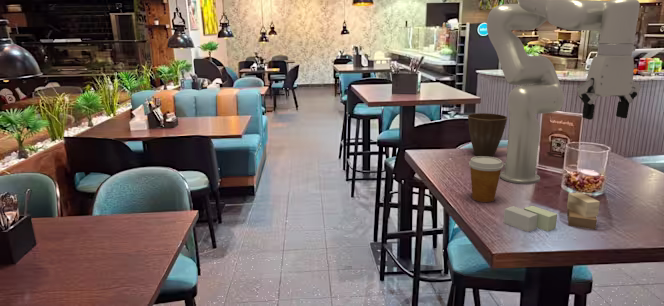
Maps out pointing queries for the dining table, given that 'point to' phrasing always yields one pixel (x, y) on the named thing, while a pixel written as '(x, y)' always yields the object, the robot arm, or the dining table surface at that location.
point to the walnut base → (581, 220)
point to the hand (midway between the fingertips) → (604, 118)
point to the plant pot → (486, 132)
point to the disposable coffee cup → (484, 177)
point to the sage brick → (543, 218)
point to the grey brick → (520, 218)
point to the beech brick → (583, 204)
